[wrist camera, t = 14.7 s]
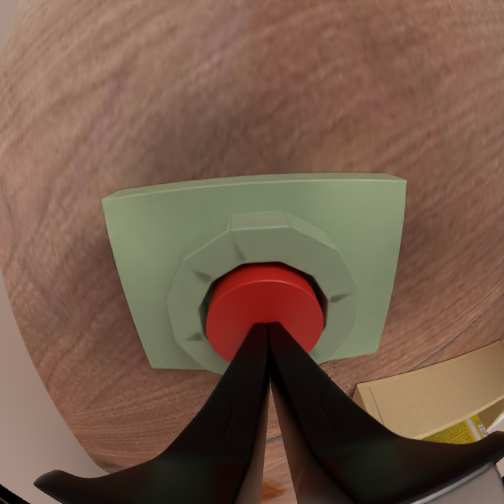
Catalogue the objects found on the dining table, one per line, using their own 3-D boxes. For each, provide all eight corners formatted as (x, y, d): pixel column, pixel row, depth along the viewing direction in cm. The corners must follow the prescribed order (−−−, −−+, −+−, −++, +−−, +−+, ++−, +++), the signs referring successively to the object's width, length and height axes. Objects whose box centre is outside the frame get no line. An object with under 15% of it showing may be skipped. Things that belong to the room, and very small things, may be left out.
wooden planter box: (500, 339, 17) (530, 376, 12) (462, 403, 20) (481, 437, 15) (356, 383, 17) (379, 449, 12) (335, 443, 21) (346, 491, 16)
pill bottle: (387, 427, 19) (420, 525, 9) (416, 385, 17) (468, 500, 7) (437, 412, 19) (474, 495, 9) (467, 370, 17) (520, 461, 7)
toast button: (315, 252, 10) (328, 275, 8) (310, 336, 12) (318, 365, 10) (203, 259, 10) (196, 284, 8) (217, 343, 12) (214, 372, 10)
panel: (388, 173, 11) (432, 190, 8) (367, 333, 15) (388, 376, 12) (117, 190, 11) (76, 212, 8) (158, 347, 15) (143, 394, 12)
